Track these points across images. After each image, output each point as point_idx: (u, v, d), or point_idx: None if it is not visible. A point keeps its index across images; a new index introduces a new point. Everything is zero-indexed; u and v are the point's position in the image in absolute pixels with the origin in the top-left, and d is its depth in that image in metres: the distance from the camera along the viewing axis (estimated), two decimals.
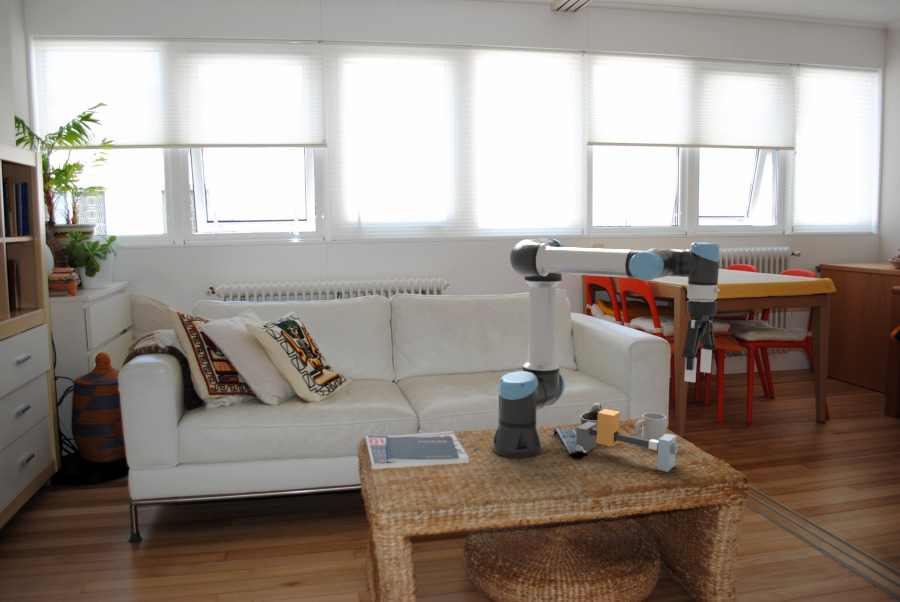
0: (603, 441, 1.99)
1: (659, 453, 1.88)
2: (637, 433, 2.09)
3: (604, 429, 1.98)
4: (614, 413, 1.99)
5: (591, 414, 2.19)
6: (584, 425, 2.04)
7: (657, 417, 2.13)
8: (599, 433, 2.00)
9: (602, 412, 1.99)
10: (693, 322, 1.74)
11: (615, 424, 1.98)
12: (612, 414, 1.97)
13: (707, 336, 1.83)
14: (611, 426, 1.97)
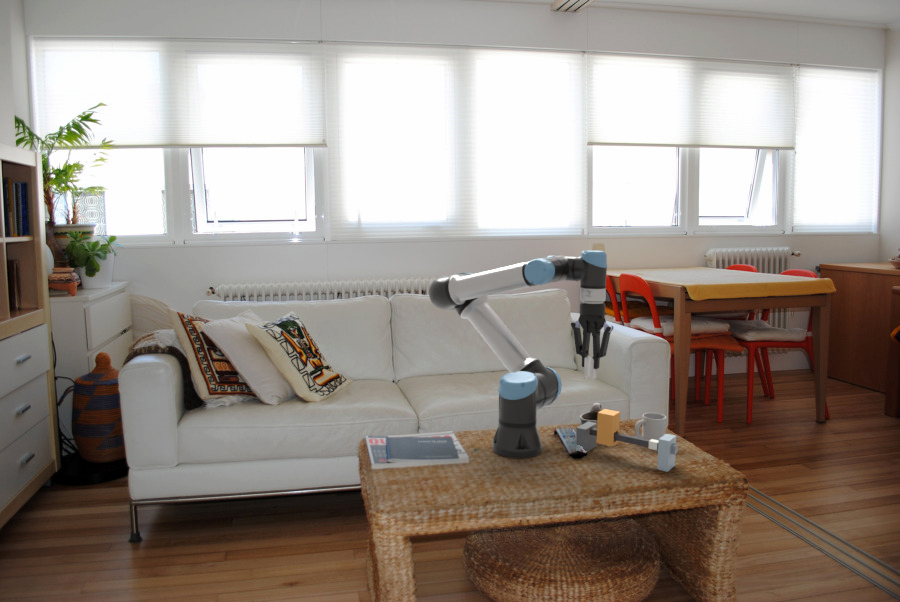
0: (603, 441, 1.99)
1: (659, 453, 1.88)
2: (637, 433, 2.09)
3: (604, 429, 1.98)
4: (614, 413, 1.99)
5: (591, 414, 2.19)
6: (584, 425, 2.04)
7: (657, 417, 2.13)
8: (599, 433, 2.00)
9: (602, 412, 1.99)
10: None
11: (615, 424, 1.98)
12: (612, 414, 1.97)
13: None
14: (611, 426, 1.97)
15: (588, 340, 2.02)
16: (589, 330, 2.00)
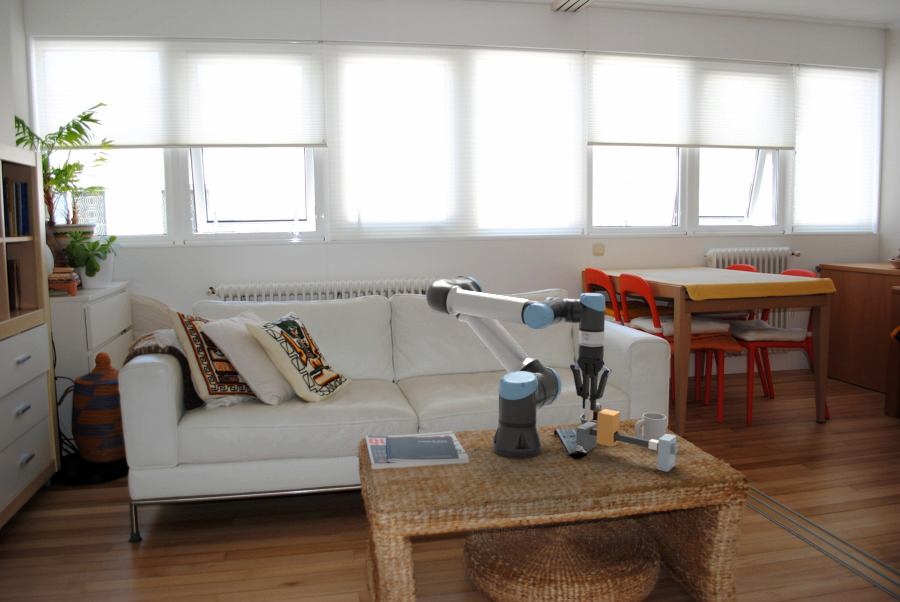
0: (603, 441, 1.99)
1: (659, 453, 1.88)
2: (637, 433, 2.09)
3: (604, 429, 1.98)
4: (614, 413, 1.99)
5: None
6: (584, 425, 2.04)
7: (657, 417, 2.13)
8: (599, 433, 2.00)
9: (602, 412, 1.99)
10: None
11: (615, 424, 1.98)
12: (612, 414, 1.97)
13: None
14: (611, 426, 1.97)
15: (588, 382, 2.03)
16: (588, 372, 2.01)
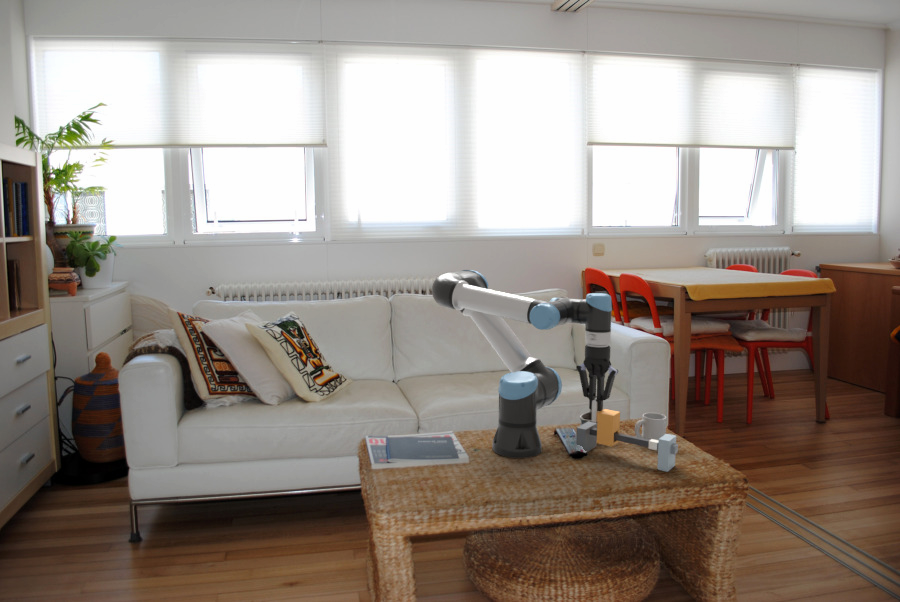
0: (603, 441, 1.99)
1: (659, 453, 1.88)
2: (637, 433, 2.09)
3: (604, 429, 1.98)
4: (614, 413, 1.99)
5: (591, 414, 2.19)
6: (584, 425, 2.04)
7: (657, 417, 2.13)
8: (599, 433, 2.00)
9: (602, 412, 1.99)
10: None
11: (615, 424, 1.98)
12: (612, 414, 1.97)
13: None
14: (611, 426, 1.97)
15: (594, 382, 2.02)
16: (594, 373, 2.00)
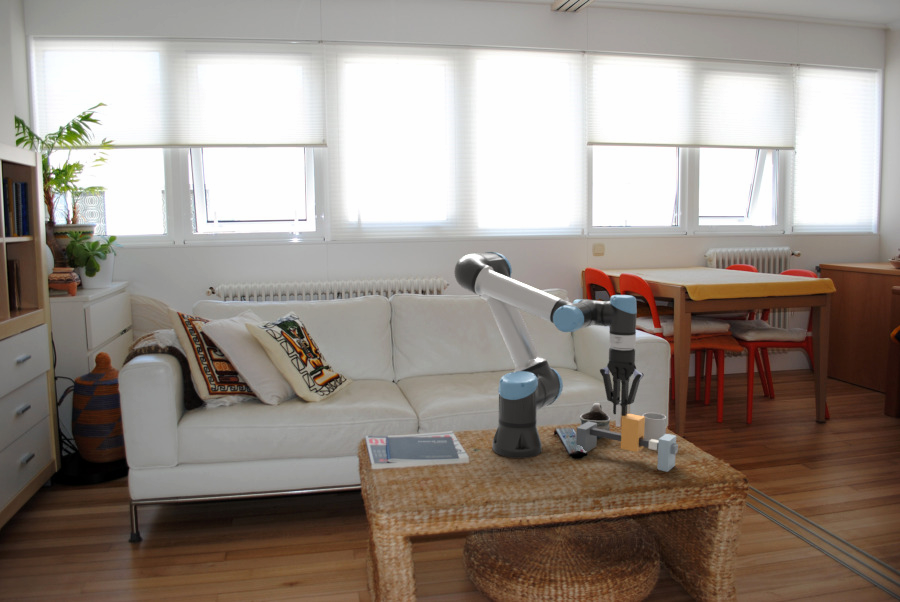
0: (628, 447, 1.94)
1: (659, 453, 1.88)
2: None
3: (628, 434, 1.94)
4: (639, 417, 1.94)
5: (591, 414, 2.19)
6: (584, 425, 2.04)
7: (657, 417, 2.13)
8: (623, 438, 1.95)
9: (626, 417, 1.95)
10: None
11: (640, 429, 1.93)
12: (637, 419, 1.93)
13: None
14: (636, 431, 1.92)
15: (619, 386, 1.97)
16: (619, 376, 1.95)
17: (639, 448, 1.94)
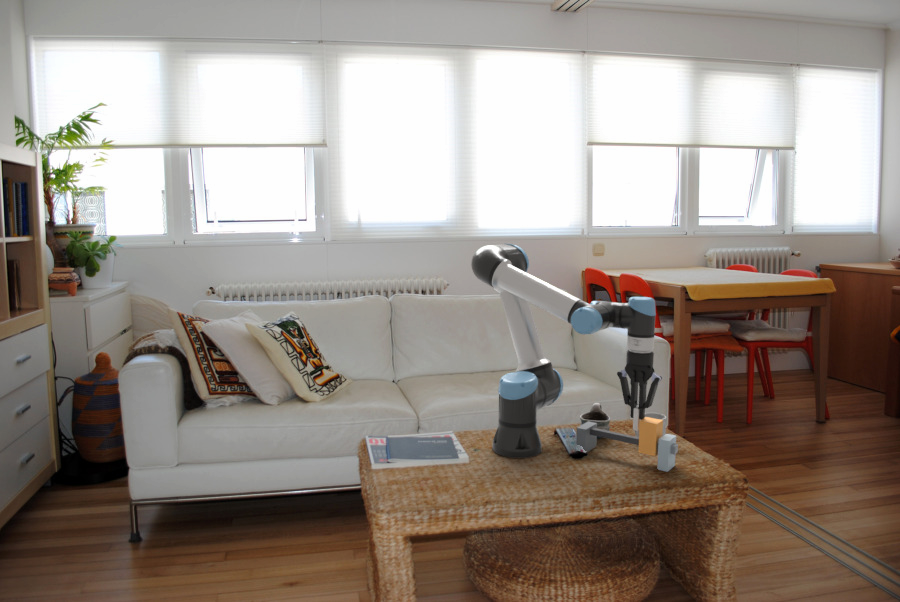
0: (645, 450, 1.91)
1: (659, 453, 1.88)
2: (637, 433, 2.09)
3: (646, 438, 1.91)
4: (657, 421, 1.91)
5: (591, 414, 2.19)
6: (584, 425, 2.04)
7: (657, 417, 2.13)
8: (641, 442, 1.92)
9: (644, 420, 1.91)
10: None
11: (658, 433, 1.90)
12: (655, 422, 1.90)
13: None
14: (654, 435, 1.89)
15: (636, 389, 1.94)
16: (636, 380, 1.92)
17: (657, 452, 1.91)
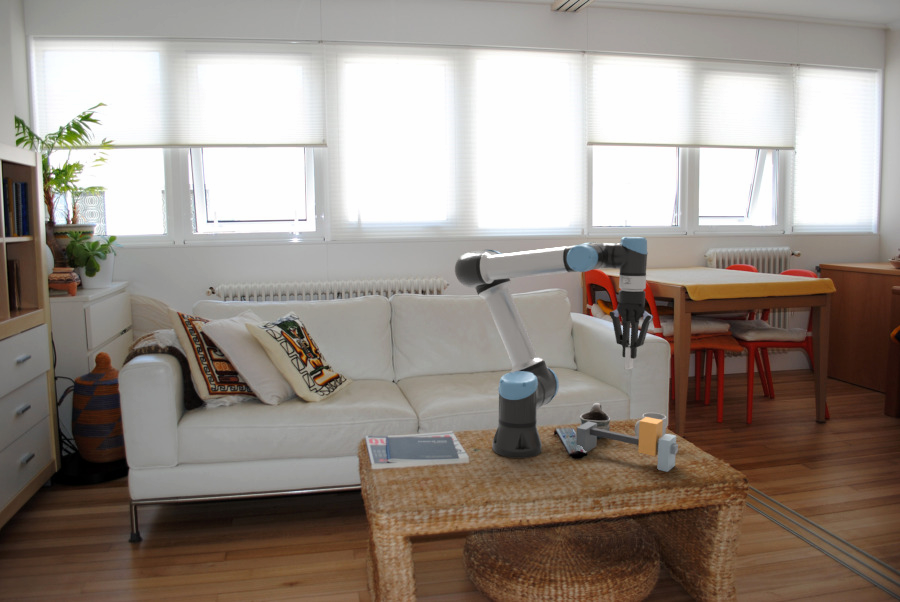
0: (645, 450, 1.91)
1: (659, 453, 1.88)
2: (637, 433, 2.09)
3: (646, 438, 1.91)
4: (657, 421, 1.91)
5: (591, 414, 2.19)
6: (584, 425, 2.04)
7: (657, 417, 2.13)
8: (640, 442, 1.92)
9: (644, 420, 1.91)
10: None
11: (658, 433, 1.90)
12: (655, 422, 1.90)
13: None
14: (654, 435, 1.89)
15: (628, 329, 1.96)
16: (628, 319, 1.94)
17: (657, 452, 1.91)
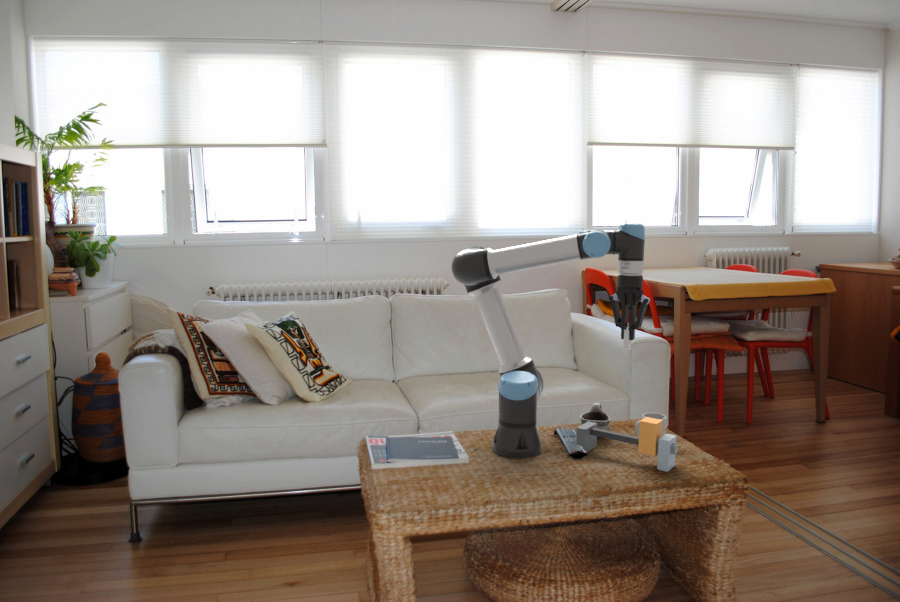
0: (645, 450, 1.91)
1: (659, 453, 1.88)
2: (637, 433, 2.09)
3: (646, 438, 1.91)
4: (657, 421, 1.91)
5: (591, 414, 2.19)
6: (584, 425, 2.04)
7: (657, 417, 2.13)
8: (640, 442, 1.92)
9: (644, 420, 1.91)
10: None
11: (658, 433, 1.90)
12: (655, 422, 1.90)
13: None
14: (654, 435, 1.89)
15: (626, 312, 2.05)
16: (627, 302, 2.03)
17: (657, 452, 1.91)
